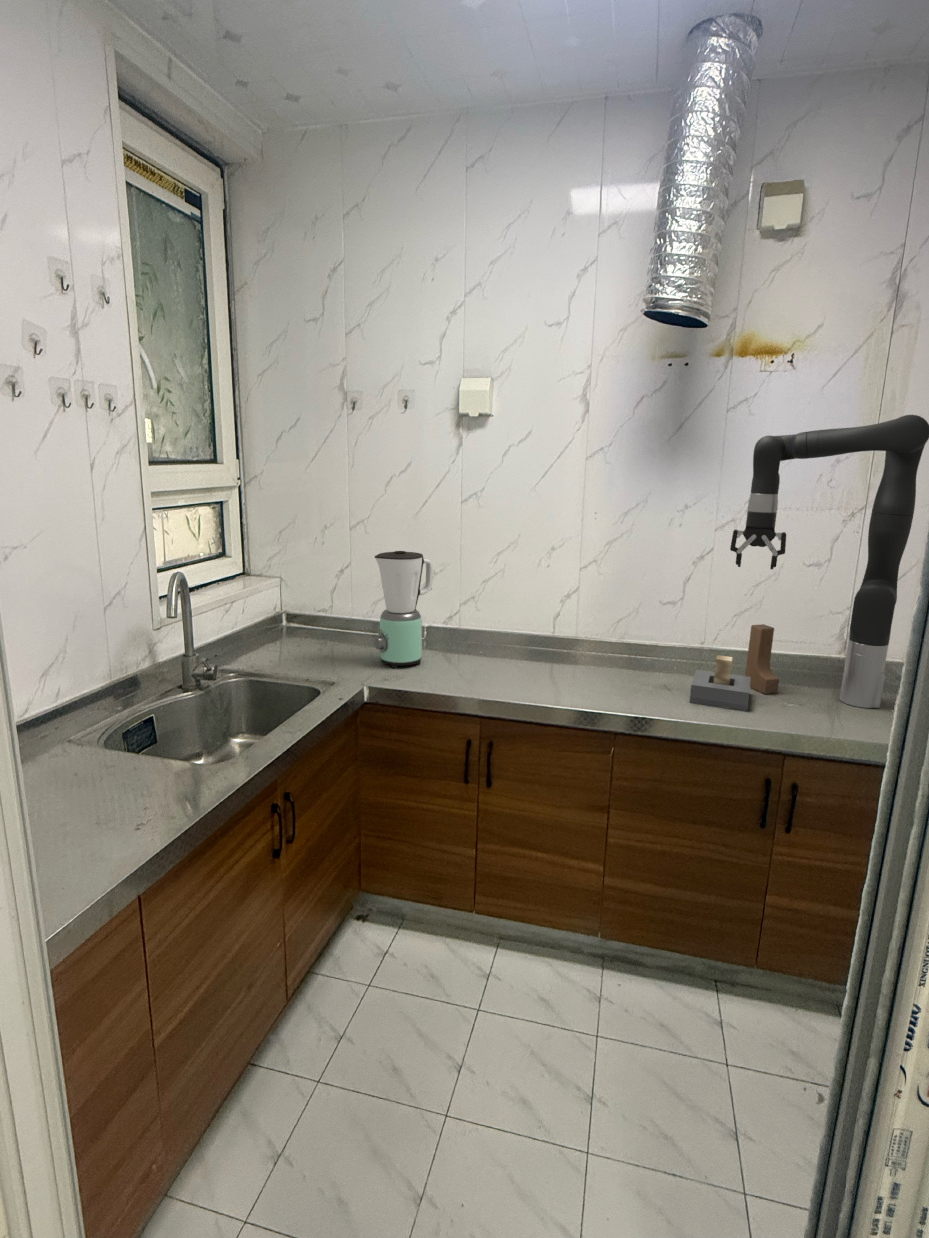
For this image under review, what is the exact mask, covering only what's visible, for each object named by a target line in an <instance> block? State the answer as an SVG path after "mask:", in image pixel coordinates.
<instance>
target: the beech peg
mask: <svg viewBox="0 0 929 1238" xmlns="http://www.w3.org/2000/svg"><path fill="white" fill-rule="evenodd" d="M732 663H733V656H727V655H726V656H725V655H720V654H719V655H718V654H717V655H716V658H715V666H714V667H715V668H714V672H715V674H714V683H715V684H722V685H729V683H730V674H731V673H732V672H731V671H732V667H733V665H732Z"/></svg>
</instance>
